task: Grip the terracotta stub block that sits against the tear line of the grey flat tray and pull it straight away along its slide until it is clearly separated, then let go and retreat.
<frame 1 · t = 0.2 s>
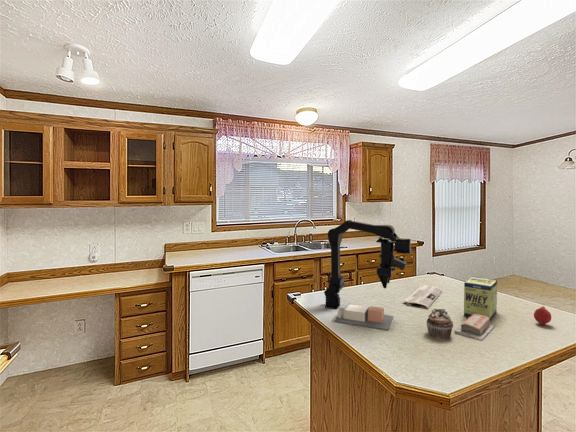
hand: (386, 285, 147), 14 cm above the counter, fingers open, 9 cm apart
stub: (375, 314, 140), point 3 cm above the counter, slide at 0.0 cm
onion: (542, 325, 134), on the counter
protein box: (480, 314, 147), on the counter
grey flat tray: (364, 319, 143), on the counter
cupcake: (439, 335, 126), on the counter
newspaper: (423, 298, 172), on the counter
packaged product: (474, 331, 130), on the counter
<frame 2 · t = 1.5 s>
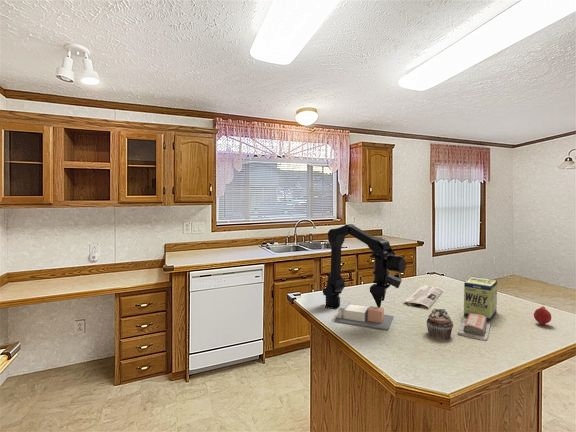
hand: (380, 303, 139), 8 cm above the counter, fingers open, 9 cm apart
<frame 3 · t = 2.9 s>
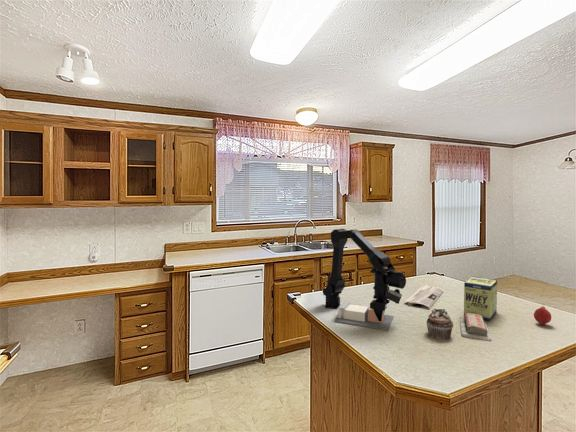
hand: (381, 318, 139), 1 cm above the counter, fingers closed on stub, 5 cm apart
stub: (375, 314, 140), point 3 cm above the counter, slide at 0.0 cm, touching gripper
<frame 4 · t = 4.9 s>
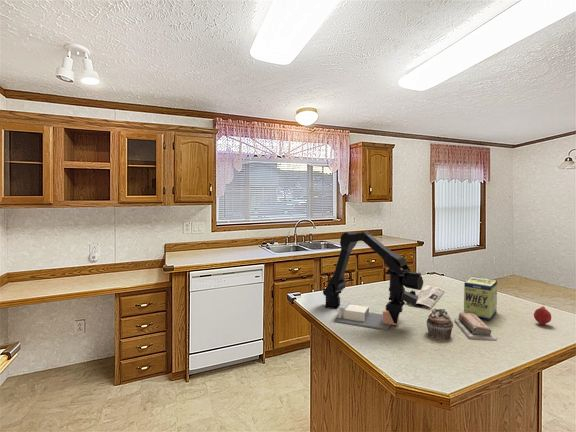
hand: (396, 321, 136), 1 cm above the counter, fingers closed on stub, 5 cm apart
stub: (391, 316, 137), point 3 cm above the counter, slide at 6.4 cm, touching gripper
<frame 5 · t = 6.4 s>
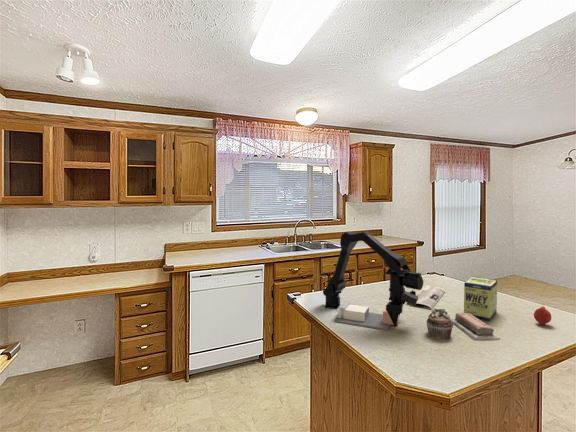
hand: (396, 321, 136), 1 cm above the counter, fingers open, 9 cm apart
stub: (391, 316, 137), point 3 cm above the counter, slide at 6.4 cm
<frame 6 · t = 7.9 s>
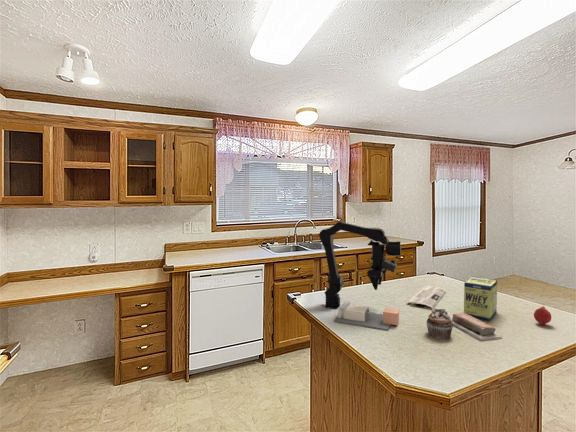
hand: (377, 287, 152), 12 cm above the counter, fingers open, 9 cm apart
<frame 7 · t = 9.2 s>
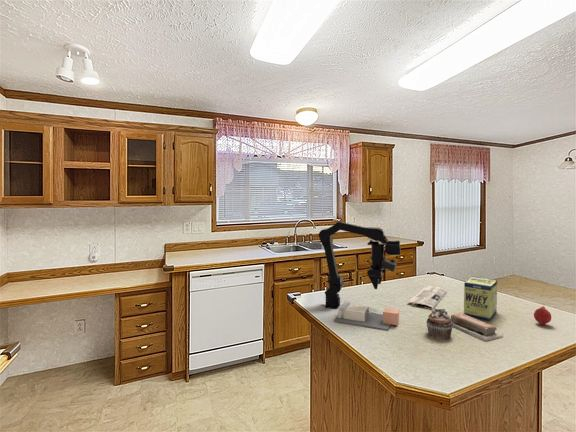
hand: (377, 286, 152), 12 cm above the counter, fingers open, 9 cm apart
at the end: stub slide at 6.4 cm; the gripper is holding nothing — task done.
